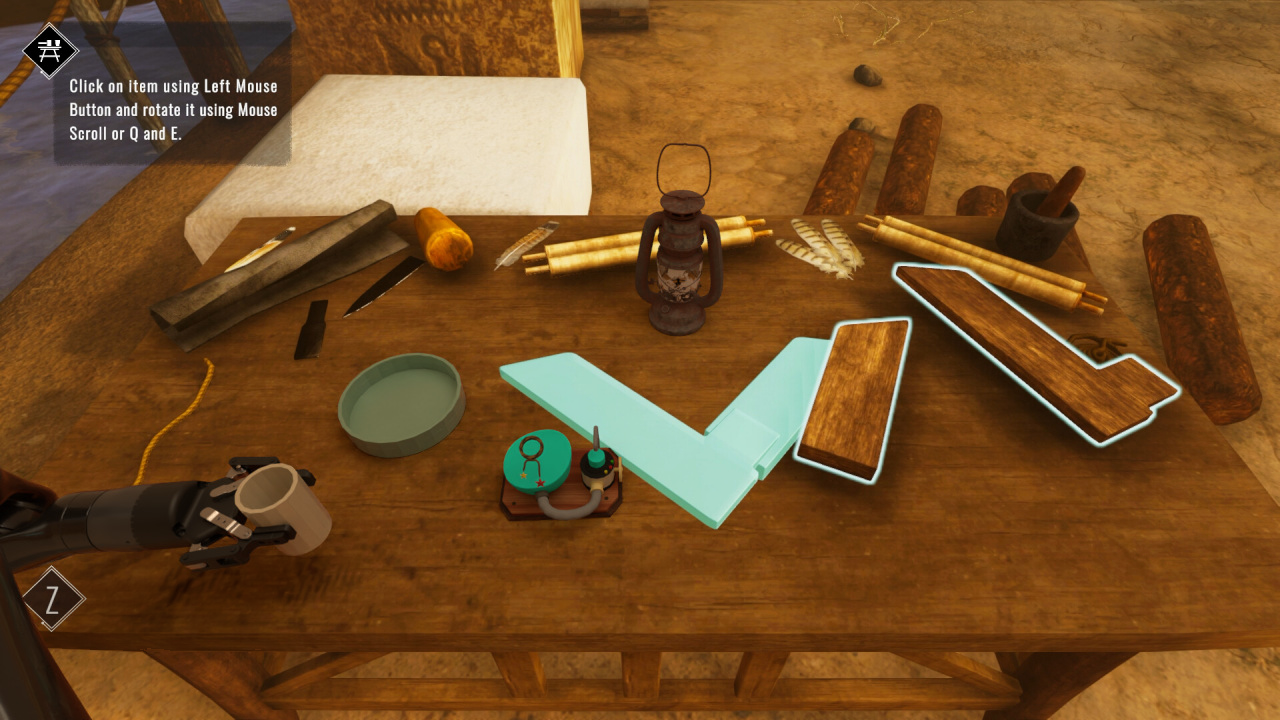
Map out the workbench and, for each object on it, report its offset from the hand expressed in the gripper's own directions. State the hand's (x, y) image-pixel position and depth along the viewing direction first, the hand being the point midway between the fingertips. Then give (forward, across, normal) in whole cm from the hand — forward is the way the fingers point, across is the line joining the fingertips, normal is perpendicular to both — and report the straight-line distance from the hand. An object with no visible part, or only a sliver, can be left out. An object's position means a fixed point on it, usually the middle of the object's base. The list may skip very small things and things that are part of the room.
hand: (303, 504), depth 67 cm
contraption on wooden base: (+29, +8, +15) cm, 33 cm away
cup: (-2, 0, +6) cm, 6 cm away
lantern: (+51, +45, +15) cm, 69 cm away
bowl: (+3, +26, +15) cm, 30 cm away
